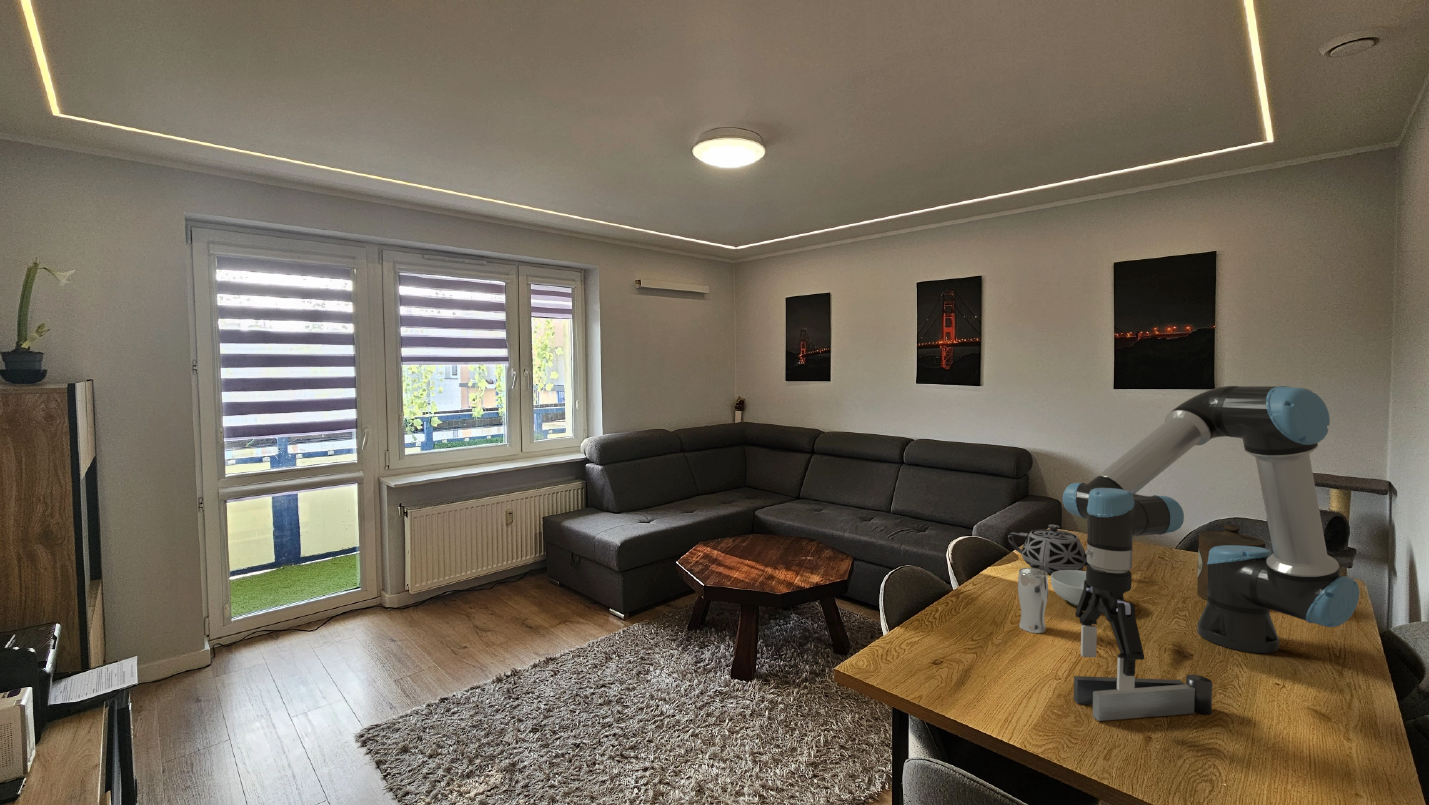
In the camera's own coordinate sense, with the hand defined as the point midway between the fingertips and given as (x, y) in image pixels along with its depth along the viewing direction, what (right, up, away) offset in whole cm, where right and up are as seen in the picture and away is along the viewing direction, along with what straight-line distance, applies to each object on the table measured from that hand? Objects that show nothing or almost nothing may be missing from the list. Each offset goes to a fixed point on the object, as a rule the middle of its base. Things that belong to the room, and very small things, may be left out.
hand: (1105, 672), depth 119 cm
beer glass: (+5, -5, +36) cm, 37 cm away
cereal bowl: (+28, -4, +53) cm, 60 cm away
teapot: (+37, -3, +82) cm, 90 cm away
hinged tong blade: (+5, -7, -4) cm, 9 cm away
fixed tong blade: (+7, -7, 0) cm, 10 cm away
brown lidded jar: (+71, -3, +54) cm, 89 cm away
